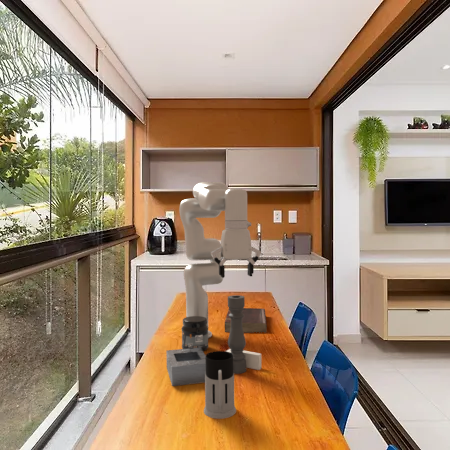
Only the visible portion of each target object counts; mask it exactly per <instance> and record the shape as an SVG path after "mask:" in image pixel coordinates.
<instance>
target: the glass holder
mask: <svg viewBox="0 0 450 450" xmlns="http://www.w3.org/2000/svg"><path fill="white" fill-rule="evenodd" d="M226 351H227V350H216V351H215V350H214V351H210V352H208V353H206V354H205V360H206V371H205V383H204V393H205V394H204V395H205V396H204V397H205V398H204V399H205V400H204V401H205V402H204V403H205V404H204V409H203V413H204V415H205V416H207V417H208V418H212V419H217V420H221V419H227V418H231V417H233V416H234V415H235V414H236V413H237V409H236V406H235V373H234V370H233V354H232V353H230V352H226Z"/></svg>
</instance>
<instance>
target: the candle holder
mask: <svg viewBox="0 0 450 450" xmlns="http://www.w3.org/2000/svg"><path fill="white" fill-rule="evenodd" d="M245 300H246V299H245V296H244V295H240V294H239V295H237V294H236V295H235V294H234V295H229V296H227V307H228V309H229V310H230V312H231V313H230V314H229V317H230V319H231V329H230V332H229V335H228V339H227V345H228V349H231V350H230V351H231V353H232V354H233V370H234V375H236V374H239V375H240V374H244V373H246V372H247V367H246V359H245V354H244V353H243V350H245V347H246V344H247V342H246V338H245V334H244V333H245V332H243V328H242V318H243V317H244V314H243V313H242V311H243V309H244V308H245Z"/></svg>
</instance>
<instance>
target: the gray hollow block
mask: <svg viewBox="0 0 450 450" xmlns="http://www.w3.org/2000/svg"><path fill="white" fill-rule="evenodd" d="M204 352H205V351H202V349H201V347H200V348H189V349H182V348H180V349H178V348H177V349H170V350H166V370H167V373H168V377H169V380H170V384H171V386H172V387H177V386H185V385H187V386H188V385H193V384H194V385H195V384H205V371H206V360H205V356H206V354H205V353H204Z"/></svg>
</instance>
